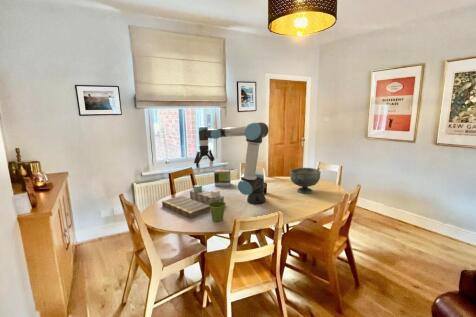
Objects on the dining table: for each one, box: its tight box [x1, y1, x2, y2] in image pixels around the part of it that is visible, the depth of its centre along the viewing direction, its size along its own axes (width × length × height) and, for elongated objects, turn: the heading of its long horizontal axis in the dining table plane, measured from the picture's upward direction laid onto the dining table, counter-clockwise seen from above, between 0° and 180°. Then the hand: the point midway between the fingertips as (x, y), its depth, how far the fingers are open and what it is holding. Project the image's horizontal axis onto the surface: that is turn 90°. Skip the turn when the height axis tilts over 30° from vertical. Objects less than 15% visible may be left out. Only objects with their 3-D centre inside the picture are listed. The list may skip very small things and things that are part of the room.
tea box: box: [213, 169, 231, 187], centre depth 249 cm, size 15×10×15 cm, turn 84°
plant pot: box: [208, 201, 227, 223], centre depth 168 cm, size 12×12×11 cm
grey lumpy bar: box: [189, 189, 225, 205], centre depth 204 cm, size 32×9×7 cm, turn 48°
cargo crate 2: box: [210, 189, 221, 198], centre depth 195 cm, size 5×5×4 cm
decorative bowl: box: [289, 167, 321, 195], centre depth 224 cm, size 26×26×20 cm
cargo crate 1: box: [193, 184, 203, 192], centre depth 210 cm, size 5×5×4 cm
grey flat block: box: [161, 195, 211, 220], centre depth 189 cm, size 36×18×4 cm, turn 48°
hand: (204, 169), depth 211 cm, fingers open, 13 cm apart
